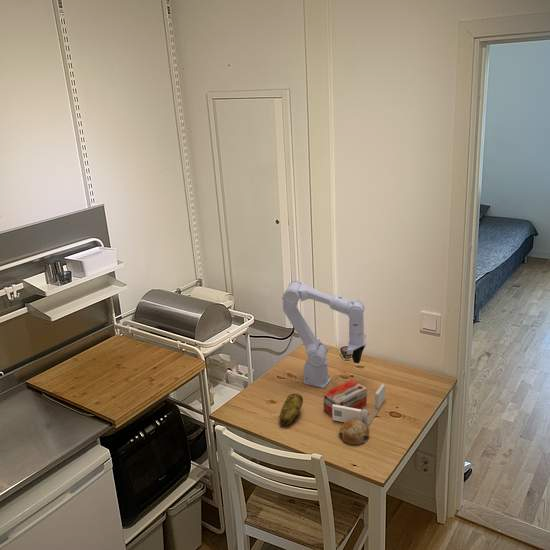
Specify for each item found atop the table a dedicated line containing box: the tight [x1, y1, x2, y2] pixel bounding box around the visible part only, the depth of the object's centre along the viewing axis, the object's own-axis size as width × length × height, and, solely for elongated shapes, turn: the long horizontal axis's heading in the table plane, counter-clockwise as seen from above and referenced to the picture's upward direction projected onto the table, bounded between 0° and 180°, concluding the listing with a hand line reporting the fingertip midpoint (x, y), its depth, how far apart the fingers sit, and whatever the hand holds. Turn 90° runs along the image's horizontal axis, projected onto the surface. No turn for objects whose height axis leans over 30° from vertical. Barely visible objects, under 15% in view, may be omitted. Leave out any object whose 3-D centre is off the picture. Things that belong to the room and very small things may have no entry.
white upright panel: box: [361, 383, 386, 428], centre depth 215 cm, size 2×21×7 cm, turn 151°
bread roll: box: [338, 420, 370, 445], centre depth 203 cm, size 10×10×8 cm
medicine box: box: [322, 379, 368, 416], centre depth 219 cm, size 15×8×8 cm, turn 126°
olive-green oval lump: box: [279, 393, 304, 426], centre depth 215 cm, size 8×13×8 cm, turn 135°
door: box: [331, 404, 362, 423], centre depth 210 cm, size 1×11×6 cm, turn 66°
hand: (356, 362), depth 231 cm, fingers closed
